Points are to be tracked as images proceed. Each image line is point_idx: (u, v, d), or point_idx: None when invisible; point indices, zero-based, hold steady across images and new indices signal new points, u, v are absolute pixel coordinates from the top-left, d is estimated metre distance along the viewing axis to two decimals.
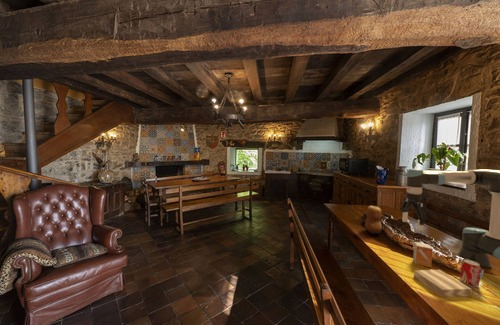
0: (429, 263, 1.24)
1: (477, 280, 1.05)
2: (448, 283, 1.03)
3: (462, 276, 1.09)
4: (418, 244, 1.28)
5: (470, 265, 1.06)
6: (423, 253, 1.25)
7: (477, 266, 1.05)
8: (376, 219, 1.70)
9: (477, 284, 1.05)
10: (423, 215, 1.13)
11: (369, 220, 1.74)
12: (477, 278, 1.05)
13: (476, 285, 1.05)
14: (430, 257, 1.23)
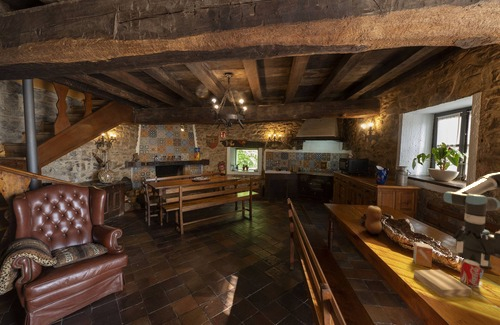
0: (429, 263, 1.24)
1: (477, 280, 1.05)
2: (448, 283, 1.03)
3: (462, 276, 1.09)
4: (418, 244, 1.28)
5: (470, 265, 1.06)
6: (423, 253, 1.25)
7: (477, 266, 1.05)
8: (376, 219, 1.70)
9: (477, 284, 1.05)
10: (490, 250, 0.98)
11: (369, 220, 1.74)
12: (477, 278, 1.05)
13: (476, 285, 1.05)
14: (430, 257, 1.23)
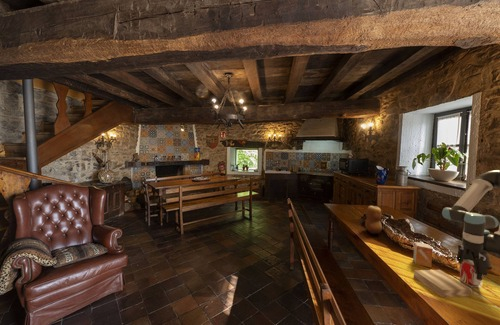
0: (429, 263, 1.24)
1: None
2: (448, 283, 1.03)
3: (462, 276, 1.09)
4: (418, 244, 1.28)
5: (470, 265, 1.06)
6: (423, 253, 1.25)
7: None
8: (376, 219, 1.70)
9: None
10: (483, 270, 1.01)
11: (369, 220, 1.74)
12: None
13: (476, 285, 1.05)
14: (430, 257, 1.23)
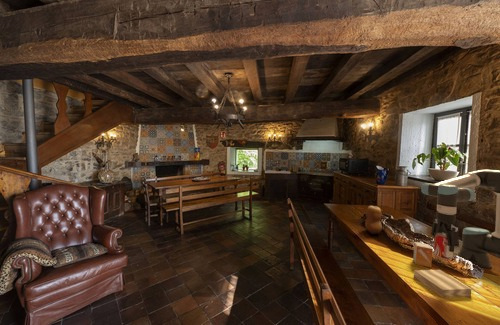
0: (429, 263, 1.24)
1: None
2: (448, 283, 1.03)
3: (435, 249, 1.06)
4: (418, 244, 1.28)
5: (443, 237, 1.03)
6: (423, 253, 1.25)
7: None
8: (376, 219, 1.70)
9: None
10: (455, 241, 0.98)
11: (369, 220, 1.74)
12: None
13: (449, 258, 1.02)
14: (430, 257, 1.23)
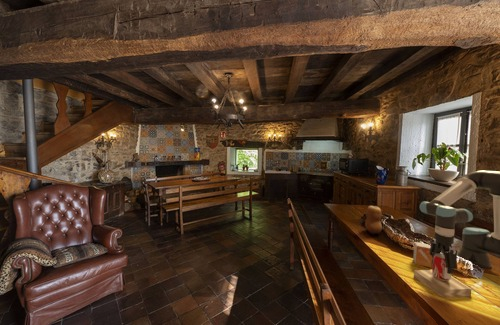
0: (429, 263, 1.24)
1: None
2: (448, 283, 1.03)
3: (434, 270, 1.07)
4: (418, 244, 1.28)
5: (441, 259, 1.04)
6: (423, 253, 1.25)
7: None
8: (376, 219, 1.70)
9: None
10: (453, 264, 0.99)
11: (369, 220, 1.74)
12: None
13: (447, 279, 1.03)
14: (430, 257, 1.23)
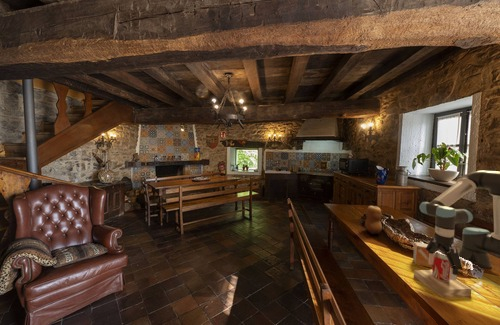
0: None
1: (448, 275, 1.03)
2: (448, 283, 1.03)
3: (434, 271, 1.07)
4: (418, 244, 1.28)
5: (441, 260, 1.04)
6: (423, 253, 1.25)
7: (448, 260, 1.03)
8: (376, 219, 1.70)
9: (448, 279, 1.03)
10: (457, 264, 0.97)
11: (369, 220, 1.74)
12: (448, 273, 1.03)
13: (447, 280, 1.03)
14: None
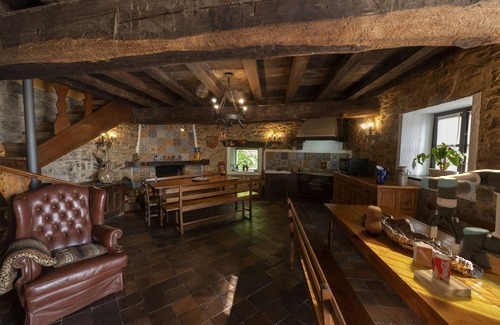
0: (429, 263, 1.24)
1: (448, 275, 1.03)
2: (448, 283, 1.03)
3: (434, 271, 1.07)
4: (418, 244, 1.28)
5: (441, 260, 1.04)
6: (423, 253, 1.25)
7: (448, 260, 1.03)
8: (376, 219, 1.70)
9: (448, 279, 1.03)
10: (460, 233, 0.96)
11: (369, 220, 1.74)
12: (448, 273, 1.03)
13: (447, 280, 1.03)
14: (430, 257, 1.23)
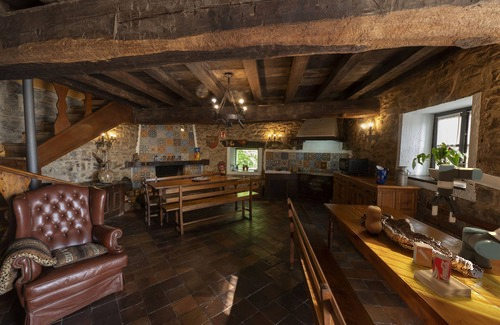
0: (429, 263, 1.24)
1: (448, 275, 1.03)
2: (448, 283, 1.03)
3: (434, 271, 1.07)
4: (418, 244, 1.28)
5: (441, 260, 1.04)
6: (423, 253, 1.25)
7: (448, 260, 1.03)
8: (376, 219, 1.70)
9: (448, 279, 1.03)
10: (456, 208, 1.19)
11: (369, 220, 1.74)
12: (448, 273, 1.03)
13: (447, 280, 1.03)
14: (430, 257, 1.23)
